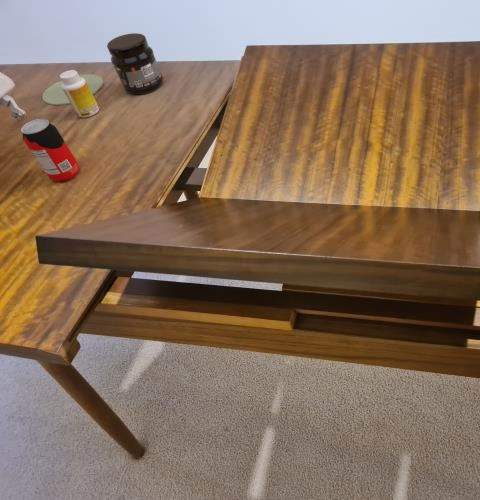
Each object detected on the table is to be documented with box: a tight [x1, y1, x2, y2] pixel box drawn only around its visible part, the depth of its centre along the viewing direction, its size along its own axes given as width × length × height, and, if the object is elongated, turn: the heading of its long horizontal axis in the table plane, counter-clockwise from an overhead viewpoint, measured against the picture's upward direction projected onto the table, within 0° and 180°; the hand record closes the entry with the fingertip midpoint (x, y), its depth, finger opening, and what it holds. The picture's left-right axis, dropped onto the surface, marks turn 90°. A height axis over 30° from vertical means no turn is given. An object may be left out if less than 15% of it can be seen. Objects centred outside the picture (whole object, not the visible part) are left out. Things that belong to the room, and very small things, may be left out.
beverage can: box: [20, 118, 80, 183], centre depth 93 cm, size 6×6×12 cm
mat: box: [41, 73, 105, 106], centre depth 124 cm, size 16×16×1 cm
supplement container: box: [106, 32, 164, 95], centre depth 118 cm, size 10×10×12 cm
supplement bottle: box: [59, 69, 100, 119], centre depth 111 cm, size 6×6×10 cm
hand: (8, 130), depth 90 cm, fingers open, 8 cm apart
